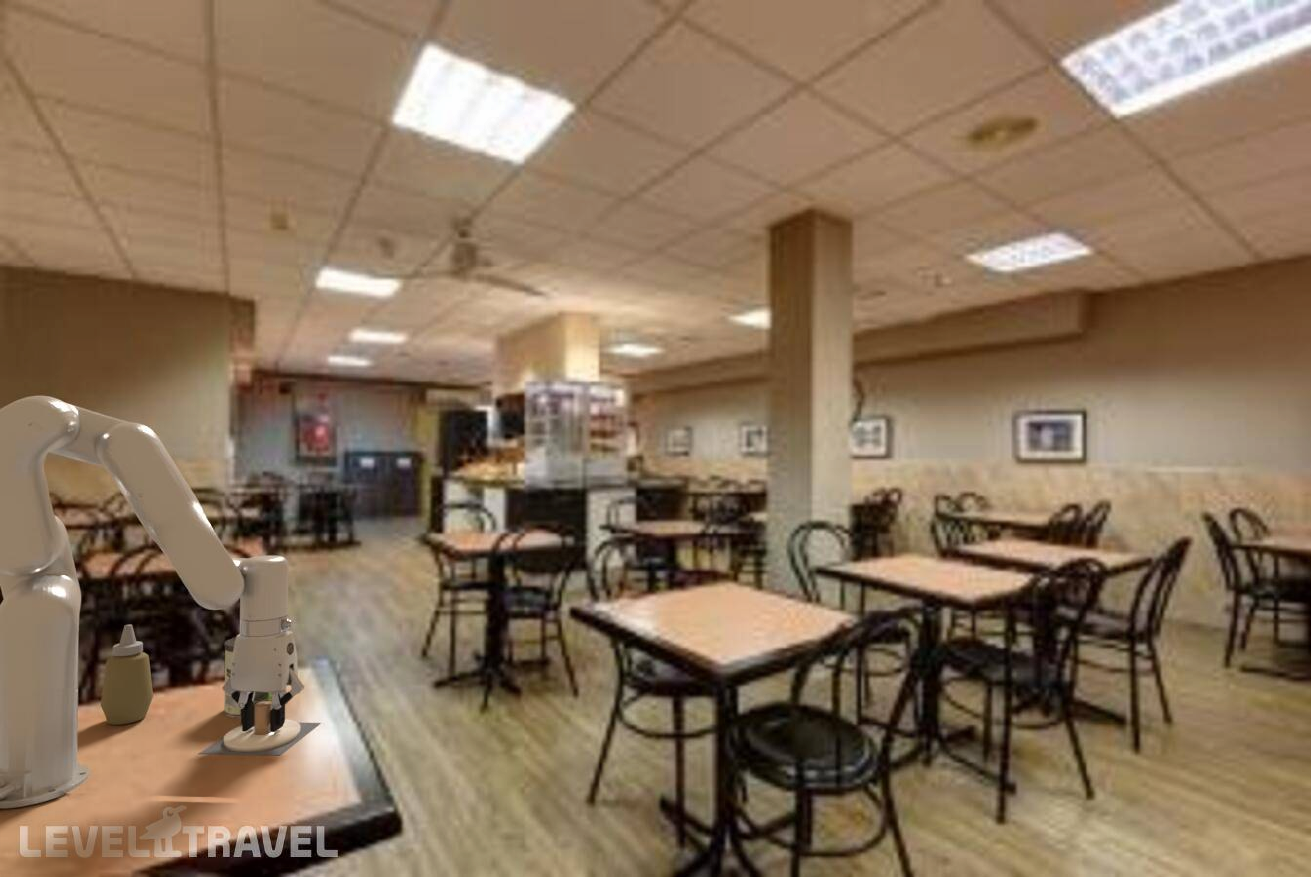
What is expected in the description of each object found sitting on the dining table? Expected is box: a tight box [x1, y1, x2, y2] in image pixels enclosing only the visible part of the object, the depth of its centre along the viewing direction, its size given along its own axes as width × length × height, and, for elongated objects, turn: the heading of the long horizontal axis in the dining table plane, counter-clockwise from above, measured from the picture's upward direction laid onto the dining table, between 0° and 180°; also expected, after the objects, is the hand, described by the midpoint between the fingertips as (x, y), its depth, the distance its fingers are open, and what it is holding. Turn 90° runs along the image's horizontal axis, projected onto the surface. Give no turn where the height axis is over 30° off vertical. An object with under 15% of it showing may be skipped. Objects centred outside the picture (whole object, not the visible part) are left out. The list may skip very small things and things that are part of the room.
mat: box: [198, 721, 322, 757], centre depth 128 cm, size 14×14×1 cm
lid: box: [223, 701, 301, 752], centre depth 128 cm, size 12×12×6 cm
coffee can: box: [223, 636, 274, 718], centre depth 143 cm, size 10×10×14 cm
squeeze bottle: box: [100, 624, 154, 726], centre depth 137 cm, size 8×8×18 cm
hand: (263, 727), depth 128 cm, fingers open, 4 cm apart
